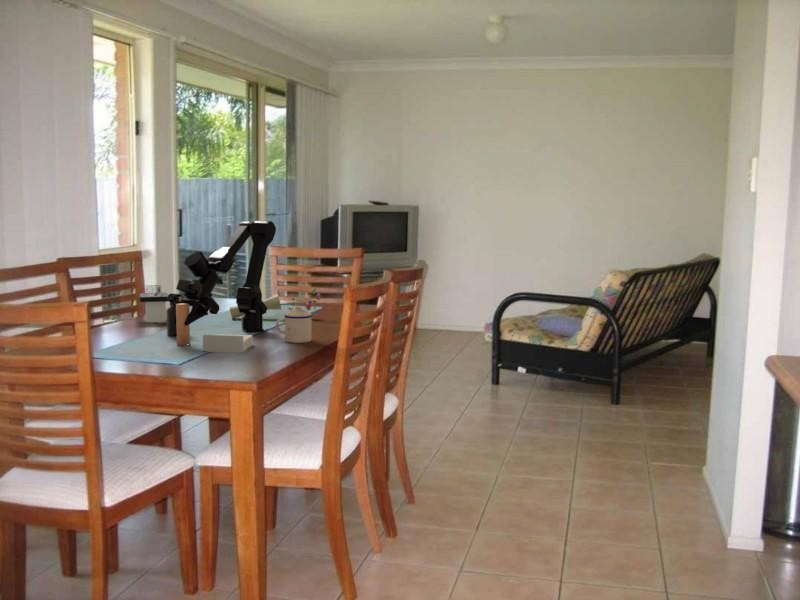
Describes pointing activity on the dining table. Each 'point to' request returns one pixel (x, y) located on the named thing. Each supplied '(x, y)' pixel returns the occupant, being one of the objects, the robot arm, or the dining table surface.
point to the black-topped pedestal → (154, 304)
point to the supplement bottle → (171, 321)
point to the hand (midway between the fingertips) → (179, 324)
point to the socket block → (226, 343)
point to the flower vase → (276, 304)
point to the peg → (182, 324)
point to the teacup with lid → (297, 326)
